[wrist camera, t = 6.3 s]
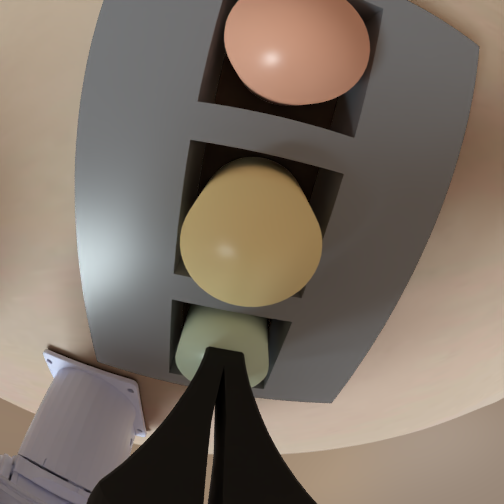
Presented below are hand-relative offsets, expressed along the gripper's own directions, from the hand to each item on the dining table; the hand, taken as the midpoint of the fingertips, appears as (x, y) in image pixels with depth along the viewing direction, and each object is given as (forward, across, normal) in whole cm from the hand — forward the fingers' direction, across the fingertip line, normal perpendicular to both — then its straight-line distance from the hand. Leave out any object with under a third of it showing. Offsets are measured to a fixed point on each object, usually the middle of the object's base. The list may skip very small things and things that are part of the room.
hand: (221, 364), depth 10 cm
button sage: (+3, 0, 0) cm, 3 cm away
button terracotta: (+3, 0, -11) cm, 11 cm away
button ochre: (+3, 0, -6) cm, 6 cm away
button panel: (+4, 0, -6) cm, 7 cm away
